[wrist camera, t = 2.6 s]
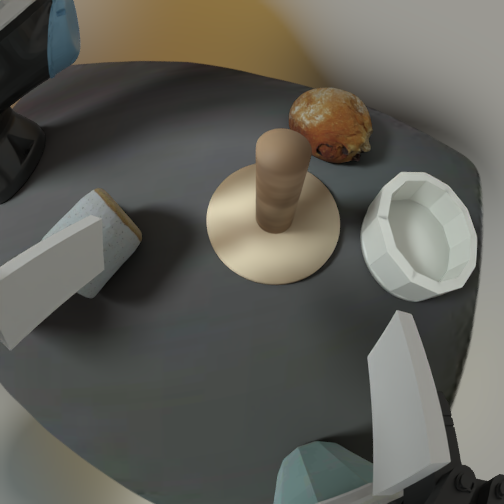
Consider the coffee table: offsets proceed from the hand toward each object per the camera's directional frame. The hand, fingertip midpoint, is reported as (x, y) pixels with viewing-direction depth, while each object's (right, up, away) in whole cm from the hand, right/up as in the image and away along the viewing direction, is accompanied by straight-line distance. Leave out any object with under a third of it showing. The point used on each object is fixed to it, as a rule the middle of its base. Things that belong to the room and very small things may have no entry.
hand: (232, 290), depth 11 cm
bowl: (+18, +2, +15) cm, 23 cm away
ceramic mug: (-15, +2, +16) cm, 22 cm away
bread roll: (+10, +16, +20) cm, 28 cm away
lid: (+3, +5, +16) cm, 17 cm away
